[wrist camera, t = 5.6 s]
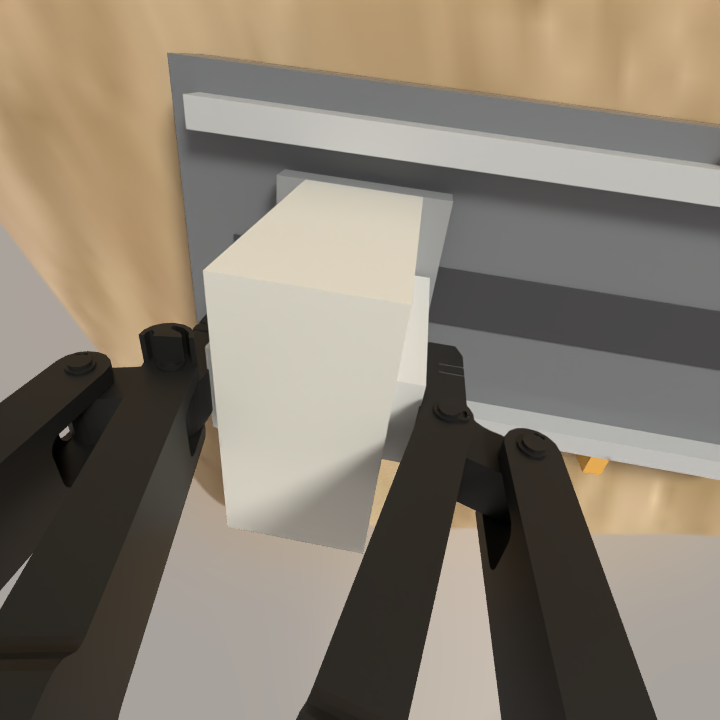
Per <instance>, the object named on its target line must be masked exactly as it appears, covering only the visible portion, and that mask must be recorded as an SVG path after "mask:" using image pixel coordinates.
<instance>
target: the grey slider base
mask: <svg viewBox="0 0 720 720" xmlns="http://www.w3.org/2000/svg"><path fill="white" fill-rule="evenodd" d="M167 55H168V64H169V73H170V82H171V91H172V100H173V109H174V118H175V127H176V136H177V145H178V154H179V163H180V172H181V181H182V190H183V199H184V208H185V217H186V226H187V235H188V244H189V253H190V262H191V271H192V280H193V288H194V297H195V306H196V315H197V324H199V322H200V321H201V320H202V318H203V317H204V316H205V315H206V314H207V309H206V298H205V288H204V277H203V270H204V269H205V268H206V267H207V266H208V265H210V264H211V263H212V262H213V261H214V260H215V259H216V258H217V257H219V256H220V255H221V254H222V253H223V252H224V251H225V250H226V249H228V248H229V247H230V246H231V245H232V244H233V243H234V242H235V241H237V240H238V239H239V238H240V237H241V236H242V235H243V234H244V233H246V232H247V231H248V230H249V229H250V228H251V227H252V226H253V225H255V224H256V223H257V222H258V221H259V220H260V219H261V218H263V217H264V216H265V215H266V214H267V213H268V212H269V211H270V210H272V209H273V208H274V207H275V206H276V205H277V174H279V173H280V172H282V171H283V170H285V169H287V170H294V171H300V172H307V173H314V174H320V175H327V176H334V177H340V178H347V179H354V180H360V181H367V182H374V183H380V184H387V185H394V186H401V187H407V188H414V189H421V190H427V191H434V192H441V193H447V194H452V195H453V205H452V209H451V214H450V218H449V223H448V227H447V232H446V236H445V241H444V245H443V250H442V254H441V259H440V263H439V268H438V272H437V277H436V281H435V286H434V290H433V295H432V299H431V304H430V308H429V317H428V342H433V343H438V344H444V345H450V346H455V347H456V348H457V349H458V351H459V352H460V353H461V355H462V356H463V366H464V367H463V369H464V377H465V389H466V401H467V406H468V407H469V408H470V410H471V411H472V413H473V414H474V420H475V421H476V422H477V423H478V424H480V425H481V426H483V427H484V428H486V429H488V430H490V431H493V432H495V433H498V434H500V435H502V436H505V435H506V434H507V433H508V431H510V430H512V429H515V428H528V429H531V430H535V431H538V432H540V433H542V434H544V435H545V436H547V437H548V438H550V439H551V440H552V441H553V442H554V443H555V444H556V445H557V447H558V449H559V450H560V451H562V452H567V453H573V454H576V455H577V458H578V461H579V463H580V466H581V469H582V472H585V473H591V474H596V475H601V473H602V471H603V470H604V468H605V466H606V465H607V463H608V462H609V460H612V461H617V462H623V463H628V464H634V465H639V466H645V467H650V468H656V469H661V470H667V471H673V472H678V473H684V474H689V475H695V476H700V477H706V478H711V479H717V480H720V125H719V124H711V123H704V122H697V121H689V120H682V119H675V118H667V117H660V116H653V115H645V114H638V113H631V112H623V111H616V110H609V109H601V108H594V107H586V106H579V105H572V104H564V103H557V102H550V101H542V100H535V99H528V98H520V97H513V96H506V95H498V94H491V93H484V92H476V91H469V90H461V89H454V88H447V87H439V86H432V85H425V84H417V83H410V82H403V81H395V80H388V79H381V78H373V77H366V76H359V75H351V74H344V73H337V72H329V71H322V70H314V69H307V68H300V67H292V66H285V65H278V64H270V63H263V62H256V61H248V60H241V59H234V58H226V57H219V56H212V55H204V54H186V53H167Z"/></svg>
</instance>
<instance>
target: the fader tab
mask: <svg viewBox="0 0 720 720" xmlns="http://www.w3.org/2000/svg"><path fill="white" fill-rule="evenodd" d="M452 205H453V195H452V194H447V193H441V192H434V191H427V190H421V189H414V188H407V187H401V186H394V185H387V184H380V183H374V182H367V181H360V180H354V179H347V178H340V177H334V176H327V175H320V174H314V173H307V172H300V171H294V170H287V169H285V170H283V171H282V172H280V173H279V174H277V205H276V206H275V207H274V208H273V209H272V210H270V211H269V212H268V213H267V214H266V215H265V216H264V217H263V218H261V219H260V220H259V221H258V222H257V223H256V224H255V225H253V226H252V227H251V228H250V229H249V230H248V231H247V232H246V233H244V234H243V235H242V236H241V237H240V238H239V239H238V240H237V241H235V242H234V243H233V244H232V245H231V246H230V247H229V248H228V249H226V250H225V251H224V252H223V253H222V254H221V255H220V256H219V257H217V258H216V259H215V260H214V261H213V262H212V263H211V264H210V265H208V266H207V267H206V268H205V269H204V270H203V277H204V288H205V298H206V309H207V319H208V329H209V340H210V350H211V361H212V371H213V381H214V392H215V402H216V413H217V423H218V433H219V444H220V454H221V465H222V475H223V485H224V496H225V506H226V517H227V526H228V527H231V528H236V529H241V530H246V531H251V532H256V533H261V534H266V535H271V536H276V537H281V538H286V539H292V540H297V541H301V542H306V543H312V544H317V545H322V546H327V547H332V548H337V549H342V550H347V551H352V552H357V553H362V554H363V551H364V545H365V540H366V535H367V530H368V525H369V520H370V515H371V510H372V505H373V500H374V495H375V490H376V485H377V479H378V474H379V469H380V464H381V459H382V454H383V449H384V444H385V439H386V434H387V428H388V423H389V418H390V413H391V408H392V403H393V398H394V393H395V388H396V382H397V377H398V372H399V367H400V362H401V357H402V352H403V347H404V342H405V337H406V331H407V326H408V321H409V316H410V311H411V306H412V298H413V288H414V279H415V276H421V277H427V278H430V290H429V308H430V304H431V299H432V295H433V290H434V286H435V281H436V277H437V272H438V268H439V263H440V259H441V254H442V250H443V245H444V241H445V236H446V232H447V227H448V223H449V218H450V214H451V209H452Z"/></svg>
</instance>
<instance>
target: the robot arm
mask: <svg viewBox="0 0 720 720" xmlns="http://www.w3.org/2000/svg"><path fill="white" fill-rule="evenodd" d="M429 290H430V278H427V277H421V276H415V279H414V288H413V298H412V306H411V311H410V316H409V321H408V326H407V331H406V337H405V342H404V347H403V352H402V357H401V362H400V367H399V372H398V377H397V382H396V388H395V393H394V398H393V403H392V408H391V413H390V418H389V423H388V428H387V434H386V439H385V444H384V449H383V454H382V459H385V460H391V461H396V462H400V465H399V467H398V470H397V472H396V475H395V477H394V480H393V483H392V485H391V488H390V490H389V493H388V495H387V498H386V501H385V503H384V506H383V508H382V511H381V513H380V516H379V519H378V521H377V524H376V526H375V529H374V532H373V534H372V537H371V539H370V542H369V545H368V547H367V549H366V552H365V555H364V557H363V560H362V562H361V565H360V567H359V570H358V573H357V575H356V578H355V580H354V583H353V585H352V588H351V591H350V593H349V596H348V598H347V601H346V603H345V606H344V608H343V611H342V614H341V616H340V619H339V621H338V624H337V626H336V629H335V631H334V634H333V637H332V639H331V642H330V645H329V647H328V649H327V652H326V655H325V657H324V660H323V662H322V665H321V667H320V670H319V673H318V675H317V678H316V680H315V683H314V686H313V688H312V690H311V693H310V695H309V697H308V699H307V702H306V703H305V705H304V706H303V708H302V709H301V711H300V712H299V715H298V717H297V719H296V720H408V717H409V713H410V708H411V703H412V699H413V694H414V690H415V685H416V681H417V677H418V672H419V668H420V663H421V659H422V654H423V649H424V645H425V641H426V636H427V631H428V626H429V622H430V618H431V613H432V609H433V604H434V600H435V595H436V591H437V586H438V582H439V577H440V573H441V568H442V563H443V559H444V555H445V550H446V545H447V541H448V537H449V532H450V528H451V523H452V519H453V514H454V510H455V505H456V501H457V502H459V503H461V504H463V505H465V506H467V507H469V508H471V509H474V510H476V521H477V529H478V537H479V545H480V552H481V560H482V569H483V577H484V584H485V592H486V600H487V608H488V616H489V624H490V632H491V639H492V648H493V656H494V664H495V671H496V680H497V688H498V696H499V703H500V712H501V719H502V720H657V717H656V715H655V712H654V709H653V706H652V703H651V701H650V698H649V695H648V692H647V690H646V687H645V684H644V681H643V679H642V676H641V673H640V670H639V668H638V665H637V662H636V659H635V657H634V654H633V651H632V648H631V646H630V643H629V640H628V637H627V634H626V632H625V629H624V626H623V623H622V621H621V618H620V616H619V612H618V609H617V607H616V604H615V601H614V599H613V596H612V593H611V590H610V587H609V585H608V582H607V579H606V576H605V574H604V571H603V568H602V565H601V563H600V560H599V557H598V554H597V551H596V549H595V546H594V543H593V540H592V538H591V535H590V532H589V529H588V527H587V524H586V521H585V518H584V516H583V513H582V510H581V507H580V504H579V502H578V499H577V496H576V493H575V491H574V488H573V485H572V482H571V480H570V477H569V474H568V471H567V469H566V466H565V463H564V460H563V457H562V455H561V452H560V450H559V449H558V447H557V445H556V444H555V443H554V442H553V441H552V440H551V439H550V438H548V437H547V436H545V435H544V434H542V433H540V432H538V431H535V430H531V429H528V428H515V429H512V430H510V431H508V433H507V434H506V435H505V436H502V435H500V434H498V433H495V432H493V431H490V430H488V429H486V428H484V427H483V426H481V425H480V424H478V423H477V422H476V421H475V420H474V414H473V413H472V411H471V410H470V408H469V407H468V406H467V401H466V389H465V377H464V369H463V367H464V366H463V356H462V355H461V353H460V352H459V351H458V349H457V348H456V347H455V346H450V345H444V344H438V343H433V342H428V317H429ZM139 339H140V344H141V349H142V354H143V359H144V363H143V365H142V366H141V367H123V368H112V365H111V361H110V359H109V358H108V357H107V356H106V355H105V354H102V353H99V352H89V351H87V352H77V353H74V354H71V355H67V356H65V357H63V358H61V359H59V360H58V361H56V362H55V363H53V364H52V365H50V366H49V367H48V368H47V369H45V370H44V371H42V372H41V373H40V374H38V375H37V376H36V377H34V378H33V379H32V380H30V381H29V382H28V383H26V384H25V385H24V386H22V387H21V388H20V389H18V390H17V391H15V392H14V393H13V394H11V395H10V396H9V397H7V398H6V399H5V400H3V401H2V402H1V403H0V590H1V589H2V588H3V587H4V586H5V584H6V583H7V582H8V581H9V580H10V579H11V577H12V576H13V575H14V574H15V573H16V572H17V571H18V569H19V568H20V567H21V566H22V565H23V564H24V562H25V561H26V560H27V559H28V558H29V557H30V556H31V554H32V553H33V554H32V556H31V557H30V559H29V561H28V563H27V564H26V566H25V568H24V569H23V571H22V573H21V575H20V576H19V578H18V580H17V581H16V583H15V585H14V587H13V588H12V590H11V592H10V594H9V595H8V597H7V599H6V600H5V602H4V604H3V606H2V607H1V609H0V720H118V717H119V713H120V710H121V706H122V703H123V699H124V696H125V693H126V690H127V687H128V683H129V680H130V677H131V674H132V671H133V667H134V664H135V661H136V658H137V654H138V651H139V648H140V645H141V642H142V639H143V635H144V632H145V629H146V625H147V623H148V619H149V616H150V613H151V610H152V607H153V603H154V600H155V597H156V594H157V591H158V587H159V584H160V581H161V577H162V574H163V571H164V568H165V565H166V562H167V558H168V555H169V552H170V549H171V546H172V542H173V539H174V536H175V533H176V530H177V526H178V523H179V520H180V517H181V514H182V510H183V507H184V504H185V501H186V498H187V494H188V491H189V488H190V484H191V482H192V478H193V475H194V472H195V469H196V466H197V462H198V459H199V456H200V453H201V450H202V446H203V443H204V440H205V422H206V421H207V419H208V417H209V416H210V414H211V413H212V421H213V427H215V428H218V423H217V413H216V402H215V392H214V381H213V371H212V361H211V350H210V340H209V329H208V319H207V314H206V315H205V316H204V317H203V318H202V320H201V321H200V322H199V324H197V325H196V326H195V327H194V328H193V330H192V329H191V328H189V327H187V326H185V325H182V324H176V323H163V324H158V325H154V326H151V327H149V328H147V329H144V330H143V331H142V332H141V333H140V334H139ZM67 426H68V427H69V430H70V432H69V433H67V434H66V436H64V437H63V438H60V436H59V433H60V432H62V431H63V430H64V429H65V428H66V427H67Z"/></svg>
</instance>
